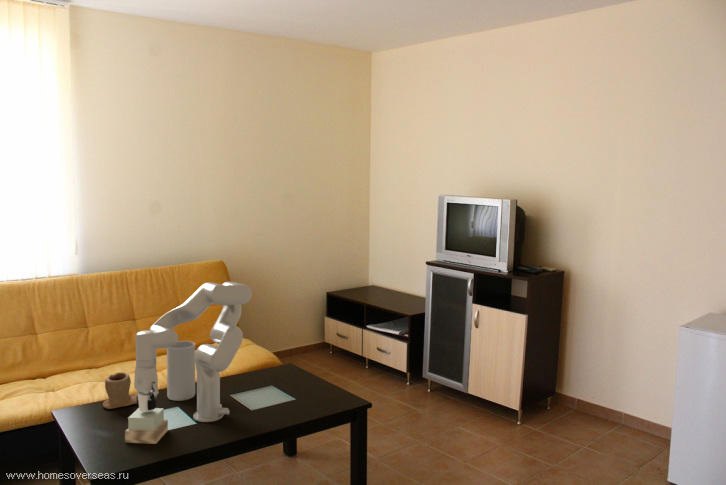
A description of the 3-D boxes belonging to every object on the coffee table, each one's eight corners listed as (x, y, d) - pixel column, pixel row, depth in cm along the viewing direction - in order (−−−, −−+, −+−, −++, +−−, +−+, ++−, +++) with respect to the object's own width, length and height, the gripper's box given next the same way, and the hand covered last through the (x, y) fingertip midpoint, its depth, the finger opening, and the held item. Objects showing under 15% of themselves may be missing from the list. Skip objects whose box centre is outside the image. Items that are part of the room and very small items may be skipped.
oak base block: (167, 431, 231) (167, 419, 230) (155, 444, 219) (155, 432, 218) (138, 430, 231) (138, 418, 231) (125, 443, 219) (124, 431, 219)
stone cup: (105, 413, 246) (104, 379, 245) (101, 404, 256) (100, 372, 255) (142, 407, 254) (141, 374, 253) (137, 398, 264) (136, 367, 263)
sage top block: (163, 420, 230) (163, 408, 229) (154, 430, 220) (154, 418, 219) (139, 419, 230) (138, 407, 229) (128, 430, 220) (128, 417, 219)
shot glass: (150, 413, 221) (149, 395, 220) (134, 411, 222) (133, 394, 221) (159, 406, 227) (159, 389, 227) (144, 405, 229) (143, 388, 228)
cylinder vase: (191, 390, 277) (191, 339, 275) (198, 398, 266) (198, 346, 264) (164, 394, 270) (164, 343, 268) (170, 403, 260) (170, 349, 257)
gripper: (125, 360, 225) (126, 404, 227) (149, 369, 214) (149, 415, 216) (143, 356, 231) (144, 398, 233) (167, 365, 220) (167, 409, 222)
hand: (147, 406), depth 224 cm, fingers open, 6 cm apart
